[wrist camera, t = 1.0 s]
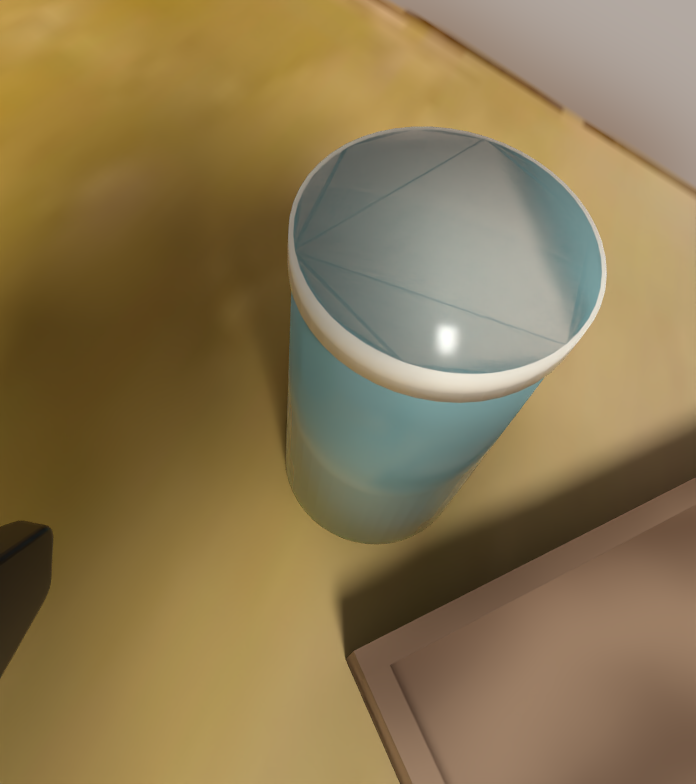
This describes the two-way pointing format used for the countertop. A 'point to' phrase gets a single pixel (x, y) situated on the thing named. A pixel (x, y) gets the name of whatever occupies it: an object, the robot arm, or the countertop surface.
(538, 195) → the cup
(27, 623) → the robot arm
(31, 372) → the countertop surface
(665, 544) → the tray
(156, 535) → the countertop surface
